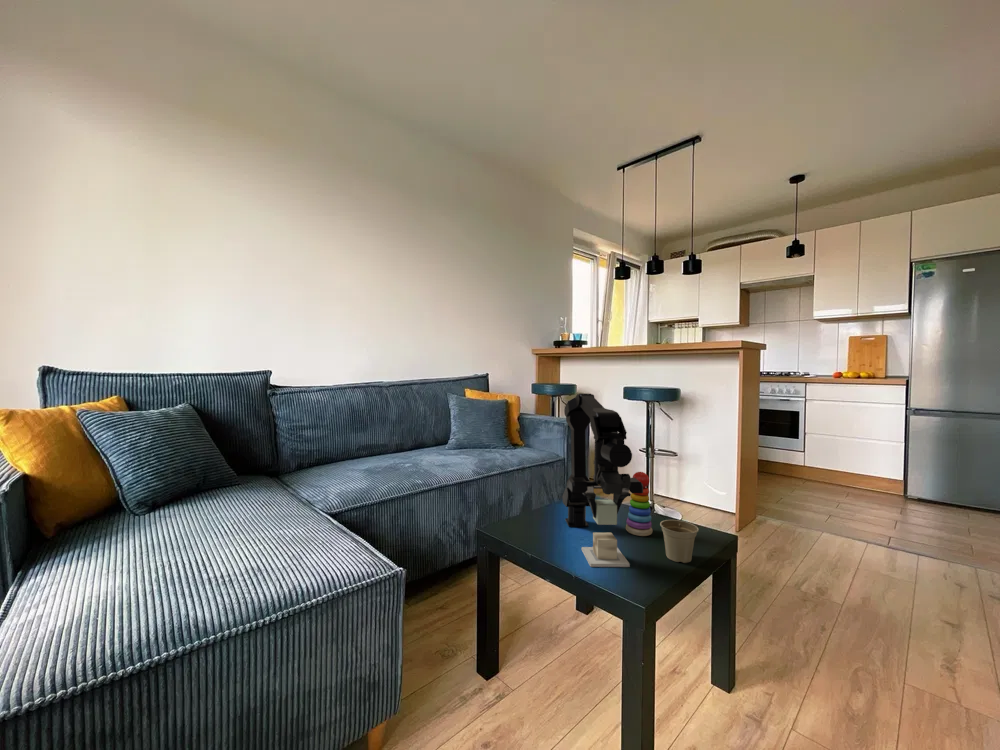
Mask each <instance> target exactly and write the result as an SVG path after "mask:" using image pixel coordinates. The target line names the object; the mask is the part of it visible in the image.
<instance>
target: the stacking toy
mask: <svg viewBox="0 0 1000 750" xmlns="http://www.w3.org/2000/svg"><path fill="white" fill-rule="evenodd" d="M631 478H636V479H637V480H639V481H640V482H641V483H642V484H643V493H630V494H631V495H630V501H629V505H630V506H629V507H628V513H627V518H626V525H625V530H626V531H627V532H628V533H629V534H631V535H634V536H639V537H647V536H650V535H652V534H653V531H654V530H653V528H652V524H653V523H652V515H651V513H652V511H651V508H650V507H651V503H650V496H649V493H650V490H649V488H648V486H649V485H650V477H649V475H648V474H647V473H646V472H643V471H636V472H635V473H634V474H633V475H632V477H631Z"/></svg>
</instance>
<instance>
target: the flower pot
mask: <svg viewBox="0 0 1000 750" xmlns="http://www.w3.org/2000/svg"><path fill="white" fill-rule="evenodd" d="M659 526H660V527H661V531H662V534H663V540H664V548H665V555H666V557H667V559H669V560H670V561H673V562H675V563H679V562H681V563H683V564H688V563H691V562H692V559H693V557H692V556H693V550H694V545H695V541H696V540H695V538H696V537H697V535H698V534H697V533H699V527H698V526H697V525H695V524H694V523H691V522H688V521H684V520H678V519H666V520H665V519H664V520H662V521H660V523H659Z"/></svg>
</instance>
